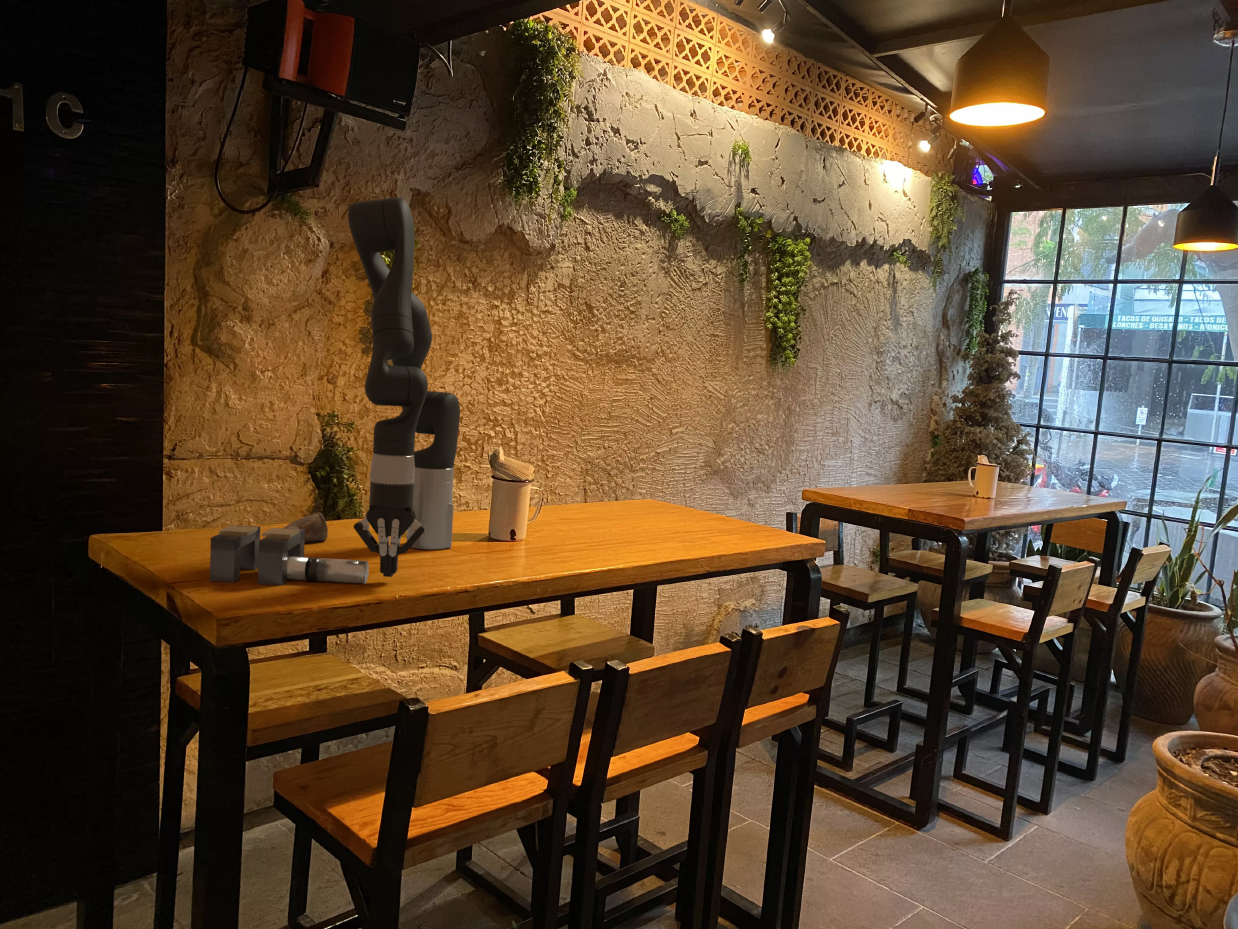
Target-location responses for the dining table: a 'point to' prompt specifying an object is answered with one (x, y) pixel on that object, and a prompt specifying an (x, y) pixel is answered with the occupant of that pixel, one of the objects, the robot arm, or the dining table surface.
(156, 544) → the dining table surface
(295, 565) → the tube
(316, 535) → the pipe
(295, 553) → the grey u-shaped stands
